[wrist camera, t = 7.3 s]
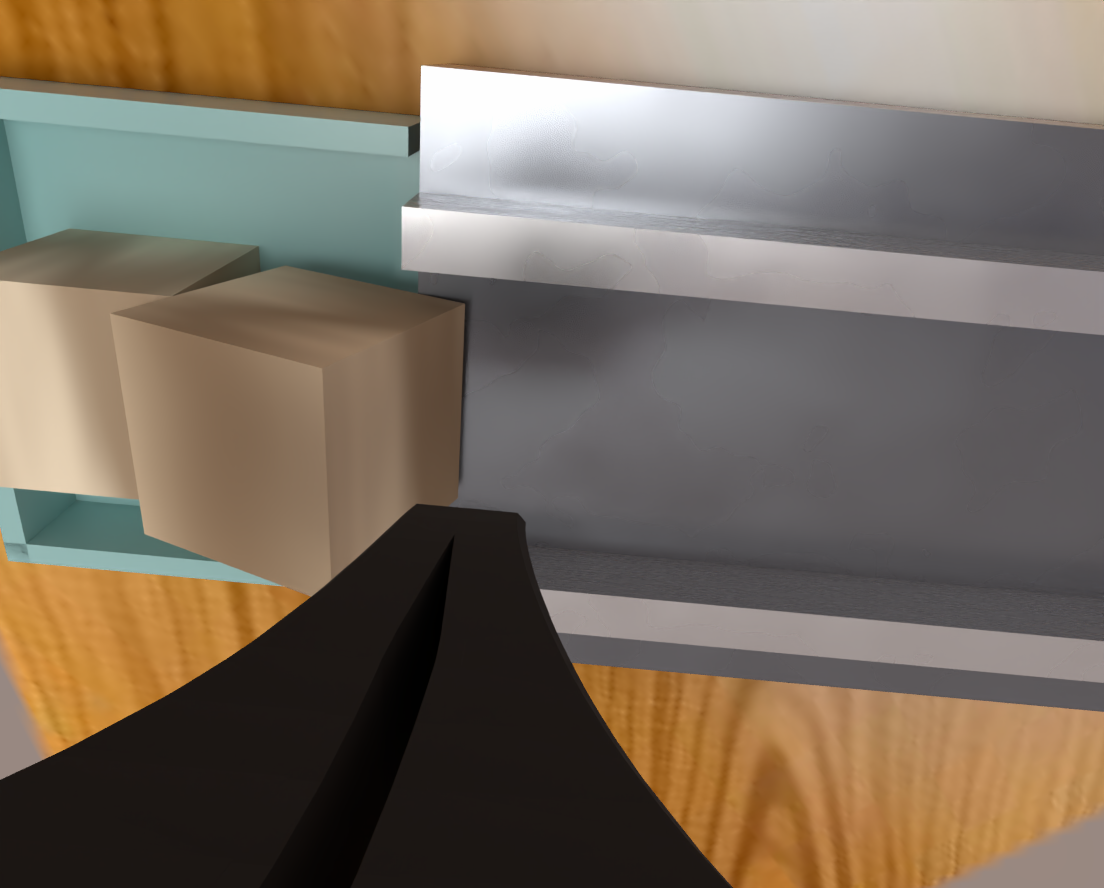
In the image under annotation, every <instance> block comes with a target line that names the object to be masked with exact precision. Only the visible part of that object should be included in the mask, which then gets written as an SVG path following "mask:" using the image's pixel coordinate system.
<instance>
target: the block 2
mask: <svg viewBox="0 0 1104 888" xmlns="http://www.w3.org/2000/svg"><path fill="white" fill-rule="evenodd" d="M110 319H111V325H112V331H113V338H114V344H115V350H116V357H117V363H118V369H119V376H120V382H121V388H122V395H123V401H124V407H125V414H126V420H127V426H128V433H129V439H130V445H131V452H132V458H133V464H134V471H135V477H136V483H137V490H138V496H139V502H140V509H141V515H142V521H143V528H144V534H146V535H148V536H151V537H154V538H156V539H159V540H162V541H164V542H167V543H170V544H172V545H175V546H178V547H180V548H183V549H186V550H188V551H191V552H194V553H196V554H199V555H202V556H204V557H207V558H210V559H212V560H215V561H218V562H220V563H223V564H226V565H228V566H231V567H234V568H236V569H239V570H242V571H244V572H247V573H250V574H252V575H255V576H258V577H260V578H263V579H266V580H269V581H271V582H274V583H277V584H279V585H282V586H285V587H287V588H290V589H293V590H295V591H298V592H301V593H303V594H306V595H309V596H311V597H312V596H313V595H314V594H315V593H316V592H318V591H319V590H320V589H321V588H322V587H324V586H325V585H326V584H327V583H328V582H329V581H331V580H332V579H333V578H334V577H335V576H336V575H337V574H339V573H340V572H341V571H342V570H343V569H344V568H346V567H347V566H348V565H349V564H350V563H351V562H353V561H354V560H355V559H356V558H357V557H358V556H359V555H360V554H362V553H363V552H364V551H365V550H366V549H367V548H368V547H369V546H370V545H371V544H373V543H374V542H375V541H376V540H377V539H378V538H379V537H380V536H381V535H382V534H383V533H384V532H385V531H386V530H388V529H389V528H390V527H391V526H392V525H393V524H394V523H395V522H396V521H397V520H398V519H399V518H400V517H401V516H402V515H404V514H405V513H406V512H407V511H408V510H409V509H411V508H412V507H413V506H414V505H416V504H427V505H438V506H449V505H450V504H451V503H453V502H454V501H455V500H456V499H457V498H458V482H459V455H460V428H461V400H462V373H463V346H464V319H465V303H460V302H455V301H451V300H446V299H441V298H436V297H432V296H427V295H422V294H418V293H413V292H408V291H403V290H399V289H394V288H389V287H385V286H380V285H375V284H370V283H366V282H361V281H356V280H352V279H347V278H342V277H338V276H333V275H328V274H323V273H319V272H314V271H309V270H305V269H300V268H295V267H290V266H286V265H285V266H281V267H278V268H274V269H270V270H267V271H263V272H259V273H256V274H252V275H248V276H245V277H241V278H237V279H234V280H230V281H226V282H223V283H219V284H215V285H212V286H208V287H204V288H201V289H197V290H193V291H190V292H186V293H182V294H179V295H175V296H171V297H168V298H164V299H160V300H157V301H153V302H149V303H146V304H142V305H138V306H135V307H131V308H127V309H124V310H120V311H116V312H113V313H110Z"/></svg>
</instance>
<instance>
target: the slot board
mask: <svg viewBox="0 0 1104 888" xmlns="http://www.w3.org/2000/svg"><path fill="white" fill-rule="evenodd" d="M401 270H410V271H418V294H422V295H427V296H432V297H436V298H441V299H446V300H451V301H455V302H460V303H465V319H464V346H463V373H462V400H461V428H460V455H459V482H458V498H457V499H456V500H455V501H454V502H453V503H451V504H450V505H449V507H460V508H471V509H482V510H493V511H504V512H515V513H518V514H519V515H520V516H521V517H522V518H523V519H524V521H525V522H526V529H525V531H526V540H527V546H528V551H529V556H530V559H531V563H532V566H533V570H534V574H535V577H536V580H537V583H538V586H539V589H540V591H541V594H542V597H543V599H544V602H545V604H546V607H547V609H548V612H549V615H550V617H551V620H552V622H553V625H554V627H555V629H556V631H557V634H558V636H559V638H560V640H561V642H562V645H563V647H564V649H565V651H566V653H567V655H568V657H569V659H570V661H571V663H581V664H592V665H603V666H614V667H625V668H635V669H646V670H657V671H668V672H679V673H690V674H700V675H711V676H722V677H733V678H744V679H755V680H766V681H776V682H787V683H798V684H809V685H820V686H831V687H841V688H852V689H863V690H874V691H885V692H896V693H907V694H917V695H928V696H939V697H950V698H961V699H972V700H982V701H993V702H1004V703H1015V704H1026V705H1037V706H1047V707H1058V708H1069V709H1080V710H1091V711H1102V712H1104V125H1097V124H1086V123H1075V122H1065V121H1054V120H1043V119H1033V118H1022V117H1011V116H1001V115H990V114H979V113H969V112H958V111H947V110H937V109H926V108H915V107H905V106H894V105H883V104H873V103H862V102H851V101H841V100H830V99H819V98H809V97H798V96H787V95H777V94H766V93H755V92H745V91H734V90H723V89H713V88H702V87H691V86H681V85H670V84H659V83H649V82H638V81H627V80H617V79H606V78H595V77H585V76H574V75H563V74H553V73H542V72H531V71H521V70H510V69H499V68H489V67H478V66H467V65H457V64H438V65H422V66H421V114H420V186H419V193H418V194H417V195H415V196H414V197H413V198H412V199H410V200H409V201H408V202H407V203H406V204H404V205H403V206H402V265H401Z"/></svg>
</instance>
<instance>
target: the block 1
mask: <svg viewBox="0 0 1104 888" xmlns="http://www.w3.org/2000/svg"><path fill="white" fill-rule="evenodd" d="M259 272H261V271H260V257H259V246H254V245H243V244H232V243H222V242H211V241H200V240H189V239H178V238H167V237H157V236H146V235H135V234H124V233H113V232H102V231H92V230H81V229H70V228H69V229H66V230H63V231H60V232H57V233H54V234H51V235H48V236H45V237H42V238H39V239H36V240H33V241H30V242H27V243H24V244H21V245H18V246H15V247H12V248H9V249H6V250H3V251H0V487H7V488H18V489H29V490H40V491H51V492H62V493H73V494H83V495H94V496H105V497H116V498H127V499H138V500H139V496H138V490H137V483H136V477H135V471H134V464H133V458H132V452H131V445H130V439H129V433H128V426H127V420H126V414H125V407H124V401H123V395H122V388H121V382H120V376H119V369H118V363H117V357H116V350H115V344H114V338H113V331H112V325H111V319H110V313H113V312H116V311H120V310H124V309H127V308H131V307H135V306H138V305H142V304H146V303H149V302H153V301H157V300H160V299H164V298H168V297H171V296H175V295H179V294H182V293H186V292H190V291H193V290H197V289H201V288H204V287H208V286H212V285H215V284H219V283H223V282H226V281H230V280H234V279H237V278H241V277H245V276H248V275H252V274H256V273H259Z"/></svg>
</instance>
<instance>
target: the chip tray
mask: <svg viewBox="0 0 1104 888" xmlns="http://www.w3.org/2000/svg"><path fill="white" fill-rule="evenodd" d="M419 186H420V116H417V115H406V114H396V113H385V112H374V111H363V110H353V109H342V108H331V107H321V106H310V105H299V104H289V103H278V102H267V101H257V100H246V99H235V98H225V97H214V96H203V95H193V94H182V93H171V92H161V91H150V90H139V89H129V88H118V87H107V86H96V85H86V84H75V83H64V82H54V81H43V80H32V79H22V78H11V77H0V251H3V250H6V249H9V248H12V247H15V246H18V245H21V244H24V243H27V242H30V241H33V240H36V239H39V238H42V237H45V236H48V235H51V234H54V233H57V232H60V231H63V230H66V229H69V228H70V229H81V230H92V231H102V232H113V233H124V234H135V235H146V236H157V237H167V238H178V239H189V240H200V241H211V242H222V243H232V244H243V245H254V246H259V257H260V271H261V272H263V271H267V270H270V269H274V268H278V267H281V266H285V265H286V266H290V267H295V268H300V269H305V270H309V271H314V272H319V273H323V274H328V275H333V276H338V277H342V278H347V279H352V280H356V281H361V282H366V283H370V284H375V285H380V286H385V287H389V288H394V289H399V290H403V291H408V292H413V293H418V271H410V270H401V265H402V206H403V205H404V204H406V203H407V202H408V201H409V200H410V199H412V198H413V197H414V196H415V195H417V194H418V193H419ZM0 529H1V533H2V537H3V541H4V545H5V549H6V553H7V557H8V561H16V562H27V563H37V564H48V565H59V566H70V567H81V568H92V569H102V570H113V571H124V572H135V573H146V574H157V575H167V576H178V577H189V578H200V579H211V580H221V581H232V582H243V583H254V584H265V585H276V586H282V585H279V584H277V583H274V582H271V581H269V580H266V579H263V578H260V577H258V576H255V575H252V574H250V573H247V572H244V571H242V570H239V569H236V568H234V567H231V566H228V565H226V564H223V563H220V562H218V561H215V560H212V559H210V558H207V557H204V556H202V555H199V554H196V553H194V552H191V551H188V550H186V549H183V548H180V547H178V546H175V545H172V544H170V543H167V542H164V541H162V540H159V539H156V538H154V537H151V536H148V535H146V534H144V528H143V521H142V515H141V509H140V502H139V500H138V499H127V498H116V497H105V496H94V495H83V494H73V493H62V492H51V491H40V490H29V489H18V488H7V487H0Z"/></svg>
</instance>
